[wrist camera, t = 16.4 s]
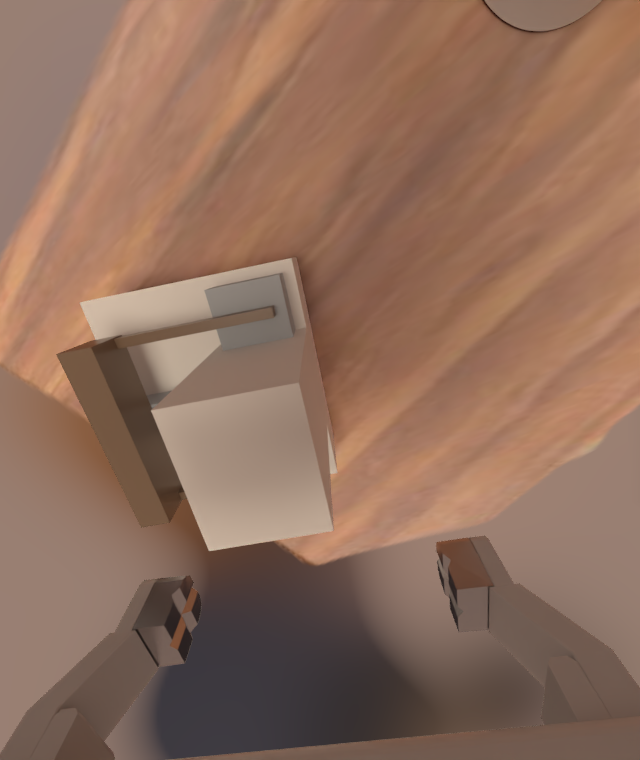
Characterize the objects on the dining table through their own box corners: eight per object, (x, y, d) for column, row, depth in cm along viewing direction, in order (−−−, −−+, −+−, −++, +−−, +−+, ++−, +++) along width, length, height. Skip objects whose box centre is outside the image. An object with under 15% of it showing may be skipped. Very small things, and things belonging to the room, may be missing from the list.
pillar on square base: (127, 292, 37) (-111, 341, 16) (296, 257, 36) (270, 261, 15) (192, 460, 45) (86, 637, 24) (333, 435, 43) (349, 598, 23)
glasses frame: (91, 340, 28) (56, 354, 24) (273, 303, 27) (266, 312, 23) (161, 496, 33) (141, 527, 29) (313, 470, 32) (313, 498, 29)
